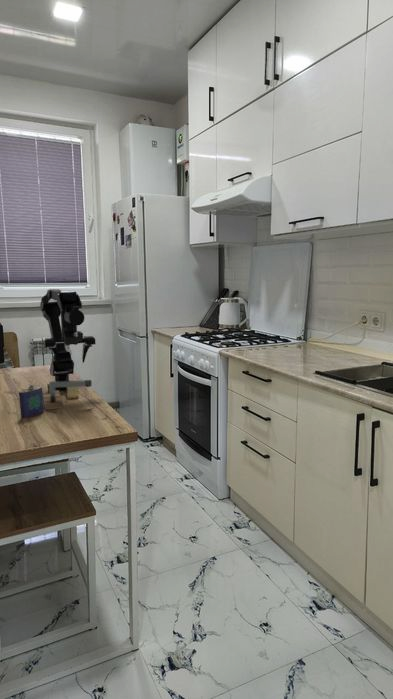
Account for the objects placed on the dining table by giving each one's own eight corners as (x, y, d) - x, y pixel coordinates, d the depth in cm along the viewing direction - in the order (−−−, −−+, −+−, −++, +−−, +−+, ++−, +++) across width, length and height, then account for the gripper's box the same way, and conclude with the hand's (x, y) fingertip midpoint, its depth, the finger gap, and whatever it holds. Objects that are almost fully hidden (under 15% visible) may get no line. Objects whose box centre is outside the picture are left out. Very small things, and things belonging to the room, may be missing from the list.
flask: (40, 410, 159) (38, 381, 157) (46, 412, 157) (44, 381, 156) (19, 418, 151) (16, 386, 149) (25, 419, 149) (23, 387, 148)
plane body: (43, 396, 178) (42, 384, 177) (59, 395, 180) (58, 383, 179) (44, 409, 160) (43, 395, 159) (62, 407, 162) (61, 394, 161)
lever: (92, 398, 165) (91, 379, 164) (91, 400, 163) (91, 381, 162) (51, 400, 164) (50, 381, 162) (49, 402, 161) (48, 382, 160)
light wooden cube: (66, 394, 181) (66, 382, 180) (77, 393, 182) (76, 381, 181) (68, 398, 175) (67, 386, 174) (78, 397, 176) (78, 385, 176)
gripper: (44, 326, 163) (46, 369, 166) (96, 324, 170) (98, 365, 172) (43, 323, 174) (45, 363, 176) (92, 321, 180) (94, 360, 183)
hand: (71, 363), depth 176 cm, fingers open, 9 cm apart
